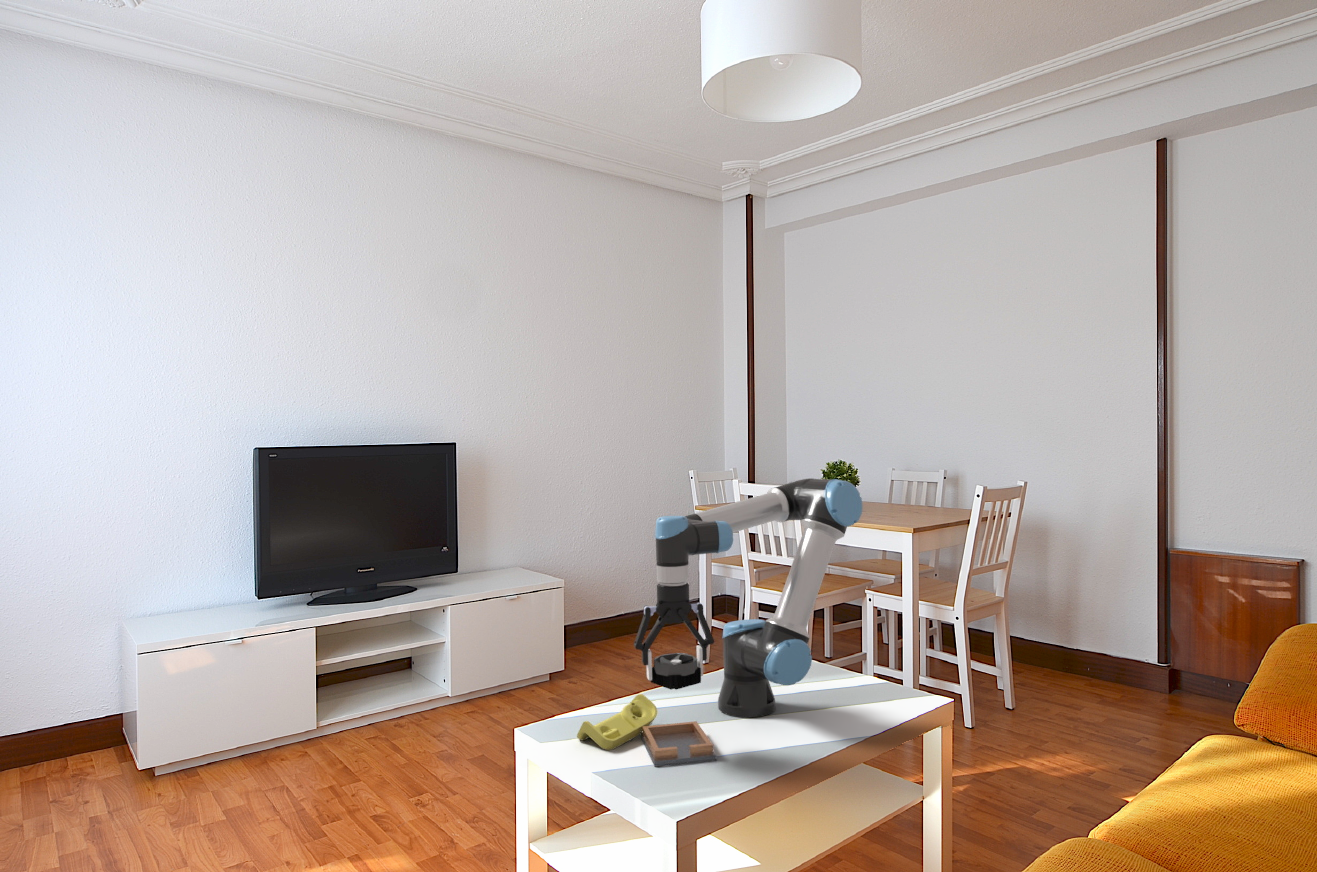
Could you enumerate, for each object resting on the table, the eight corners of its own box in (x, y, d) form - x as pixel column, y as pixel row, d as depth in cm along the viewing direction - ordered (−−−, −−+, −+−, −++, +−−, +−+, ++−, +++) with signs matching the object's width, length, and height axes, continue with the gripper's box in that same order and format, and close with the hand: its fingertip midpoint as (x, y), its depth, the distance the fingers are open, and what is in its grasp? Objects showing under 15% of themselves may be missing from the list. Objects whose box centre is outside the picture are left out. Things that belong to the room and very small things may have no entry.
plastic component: (609, 743, 183) (581, 716, 189) (601, 768, 186) (574, 740, 192) (665, 713, 198) (637, 689, 204) (657, 736, 201) (629, 712, 207)
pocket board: (696, 731, 196) (696, 719, 196) (716, 760, 178) (715, 746, 178) (640, 736, 193) (640, 724, 193) (654, 766, 175) (654, 753, 175)
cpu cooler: (671, 667, 178) (644, 657, 186) (672, 692, 178) (644, 682, 186) (706, 658, 184) (678, 649, 192) (707, 682, 184) (678, 673, 192)
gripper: (717, 577, 192) (719, 668, 192) (619, 582, 187) (622, 675, 187) (726, 582, 184) (728, 677, 184) (624, 588, 180) (627, 685, 180)
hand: (674, 676), depth 186 cm, fingers closed on cpu cooler, 11 cm apart
